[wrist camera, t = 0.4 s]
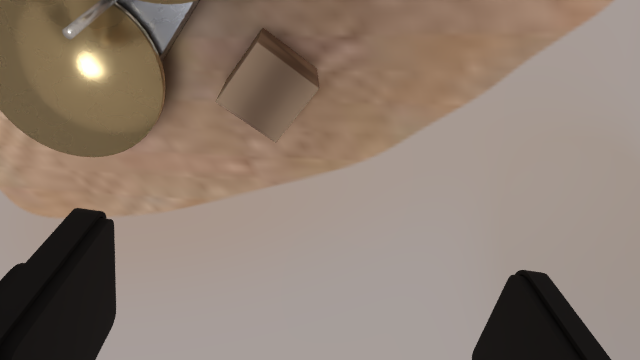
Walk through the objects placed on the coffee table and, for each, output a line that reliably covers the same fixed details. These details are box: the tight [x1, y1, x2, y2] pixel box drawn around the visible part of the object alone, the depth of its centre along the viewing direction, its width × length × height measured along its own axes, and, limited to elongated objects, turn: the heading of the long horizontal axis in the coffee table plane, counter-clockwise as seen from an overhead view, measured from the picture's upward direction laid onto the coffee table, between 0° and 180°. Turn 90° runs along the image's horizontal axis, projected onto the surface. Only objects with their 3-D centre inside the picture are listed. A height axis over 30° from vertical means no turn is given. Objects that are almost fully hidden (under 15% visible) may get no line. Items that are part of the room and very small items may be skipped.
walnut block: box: [216, 28, 319, 143], centre depth 39 cm, size 6×6×6 cm
